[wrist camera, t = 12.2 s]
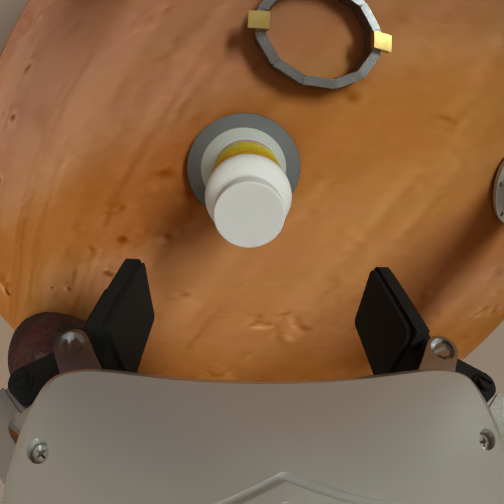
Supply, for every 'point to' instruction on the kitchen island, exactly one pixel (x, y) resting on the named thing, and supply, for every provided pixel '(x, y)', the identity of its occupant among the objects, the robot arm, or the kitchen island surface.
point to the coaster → (234, 130)
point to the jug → (38, 337)
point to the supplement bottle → (248, 194)
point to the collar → (373, 46)
